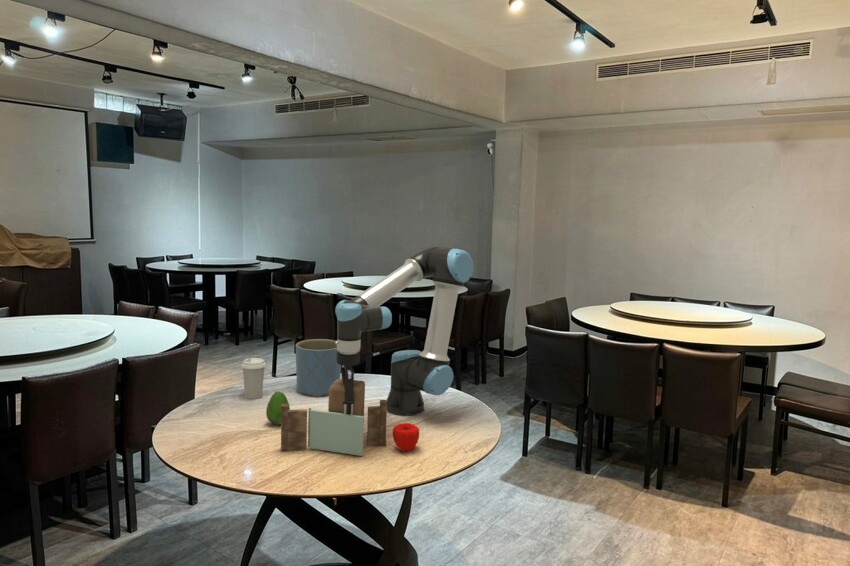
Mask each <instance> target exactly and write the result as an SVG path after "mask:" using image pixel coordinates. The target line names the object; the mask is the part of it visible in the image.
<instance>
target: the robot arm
mask: <svg viewBox="0 0 850 566" xmlns="http://www.w3.org/2000/svg"><path fill="white" fill-rule="evenodd" d="M471 257H472V256H471V255H470V253H468V252H467V251H466V250H464V249H459V248H451V247H444V246H443V247H442V246H430V247H427V248H424V249H422V250H420V251H419V252H418V251H417V253H415V254H413V255H411V256H410V257H408V258H407V259H406V260H404V263H403V265H401V266H400V267H398V268H397V269H396V270H394V271H392V272H391V273H390V274H387V276H385V277H384V278H382V279H380V280H379V281H378V282H376V283H375V284H373V285H371V286H369V287H368V288H367V289H366V290H364V291H362V292H361V293H359V294H358V295H357V296H354V297H353V298H352V299H351V300H349V299H343V300H341V301H339V302H338V303H337V304H336V306H335V309H334V310H335V316H336V319H337V322H336V323H337V326H336V327H337V329H336V331H337V332H336V335H337V336H336V338H337V339H336V340H335V341H336V342H335V344H337V350H338V352H337V358H336V362H337V364H339V365H341V375H340V376H341V377H340V379H343V383H344V384H345V402H343V404H344V414H350V415H353V404H354V380H355V368H354V367H353V366H357V365H359V364H360V363H361V361H360V360H361V353H360V351H361V336H362V333H364V332H371V331H378V330H379V331H381V330H384V329H387V328H389V327H390V326H391V325H392V322H393V320H392V319H393V315H392V312H391V310H390V308H388V307H386V306H381V305H383V304H384V303H386V302H387V301H389V300H390V299H392V298H393V297H395V296H396V295H397V294H399V293H400V292H401V291H403V290H404V289H406V288H407V287H409V286H410V285H412V284H413V283H415V282H421V281H423V280H424V279H425V278H430V277H431V278H432V283H433V285H434V287H435V289H434V290H435V291H434V295H433V299H432V305H431V311H430V316H429V321H428V327H427V331H426V333H427V334H426V336H425V337H426V339H425V342H424V349H423V350H422V351H421V350H417V349H406V350H399V351H395V352H393V354H392V355H391V361H390V363H391V365H390V389H389V393H388V395H387V397H386V401H387V413H389V414H392V415H395V416H396V415H397V416H414V415H419V414H421V413H423V412H424V411H425V402H424V398H423V394H422V392H424V393H425V394H428V395H433V396H440V395H443V394H445V393H446V391H448V390H449V389H450V387H451V385H452V383H453V382H454V371H453V368H452V367H451V366H450V361H451V359H450V358H449V356H448V351H449V350H448V349H449V344H450V337H451V333H452V328H453V321H454V317H455V312H456V311H455V310H456V307H457V301H458V296H459V291H460V290H462V289H463V288H464V286H465V283H466V282H468V281H469V280H470V279H471V277H472V276H473V273H474V261H473V258H471Z"/></svg>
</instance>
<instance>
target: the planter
mask: <svg viewBox="0 0 850 566" xmlns="http://www.w3.org/2000/svg"><path fill="white" fill-rule="evenodd" d="M336 341H337V340H333V339H327V338H314V339H304V340H301V341H298V342H297V343H296V344H295V368H296V369H295V371H296V376H295V377H296V391H297V392H298V393H300V394H303V395H307V396H313V397H316V398H321V397H323V396H325V395H329V388H330V386H331V385H332V384H333V383H334V382H335V381H336V380H337V379H341V376H342V375H341V374H342V373H341V368H342V365H339V364H337V362H336V358H337V352H338V350H337V344H335V342H336Z"/></svg>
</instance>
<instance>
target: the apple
mask: <svg viewBox="0 0 850 566" xmlns="http://www.w3.org/2000/svg"><path fill="white" fill-rule="evenodd" d="M392 439H393V442H394V443H395V445H396V448H397V449H399V450H400V451H403V452H411V451H413V450H414V448H415V447H417V444H418V442H419V439H420V429H419V427H418V426H417V425H415V424H413V423H410V422H403V423H398V424H396V425H394V427H393V428H392Z"/></svg>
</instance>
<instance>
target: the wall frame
mask: <svg viewBox="0 0 850 566" xmlns="http://www.w3.org/2000/svg"><path fill="white" fill-rule="evenodd" d="M387 414H388V411H387V399H379V405H375V406H367V427H366V428H367V429H366V430H367V431H366V446H367V447H375V446H376V447H377V446H378V447H383V446H386V445H387ZM307 448H308V409H307V408H305V409H303V408H302V409H301V408H300V409H290V410H288V404H281V424H280V452H281V453H284V452H285V453H286V452H292V451H293V452H294V451H307V450H308V449H307Z"/></svg>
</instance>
